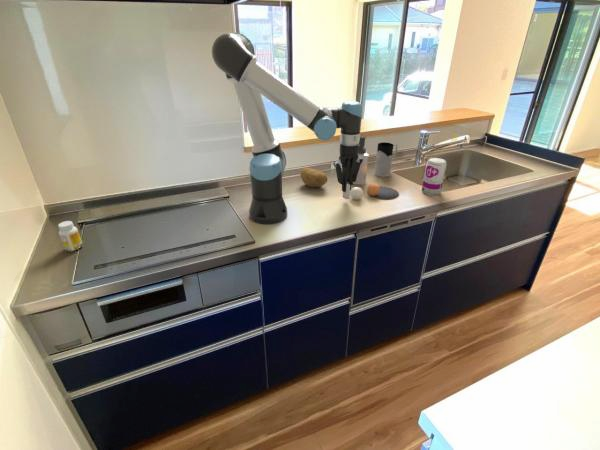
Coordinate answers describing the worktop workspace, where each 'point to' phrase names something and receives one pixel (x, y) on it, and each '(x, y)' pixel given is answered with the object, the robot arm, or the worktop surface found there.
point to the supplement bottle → (69, 235)
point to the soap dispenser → (363, 167)
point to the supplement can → (434, 176)
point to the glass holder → (384, 159)
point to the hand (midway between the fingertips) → (345, 197)
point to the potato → (313, 177)
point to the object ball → (373, 189)
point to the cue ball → (356, 193)
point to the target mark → (386, 193)
